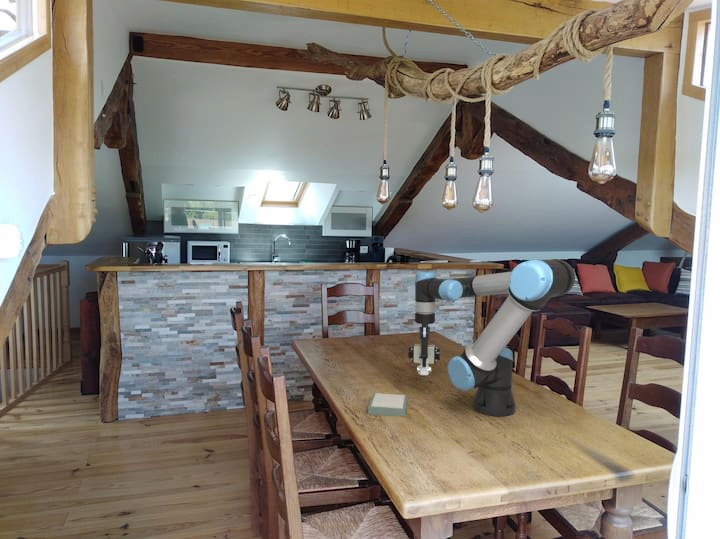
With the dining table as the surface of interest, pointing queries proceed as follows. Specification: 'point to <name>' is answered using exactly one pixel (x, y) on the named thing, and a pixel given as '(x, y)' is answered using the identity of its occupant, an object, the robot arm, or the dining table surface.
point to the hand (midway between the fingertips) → (424, 372)
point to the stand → (388, 404)
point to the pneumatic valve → (416, 353)
